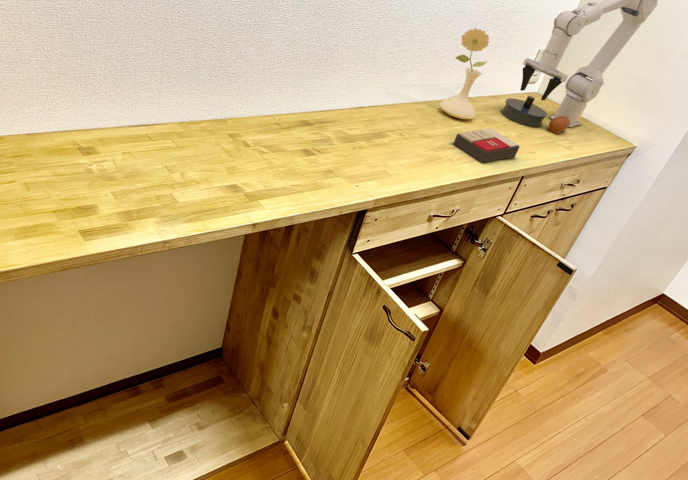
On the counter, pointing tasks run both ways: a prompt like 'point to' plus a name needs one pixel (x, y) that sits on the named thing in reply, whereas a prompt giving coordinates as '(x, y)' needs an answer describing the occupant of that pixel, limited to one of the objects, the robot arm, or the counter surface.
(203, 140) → the counter surface
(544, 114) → the pot lid
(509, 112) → the pot
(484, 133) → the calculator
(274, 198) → the counter surface
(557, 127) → the orange capsule
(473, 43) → the flower in vase
